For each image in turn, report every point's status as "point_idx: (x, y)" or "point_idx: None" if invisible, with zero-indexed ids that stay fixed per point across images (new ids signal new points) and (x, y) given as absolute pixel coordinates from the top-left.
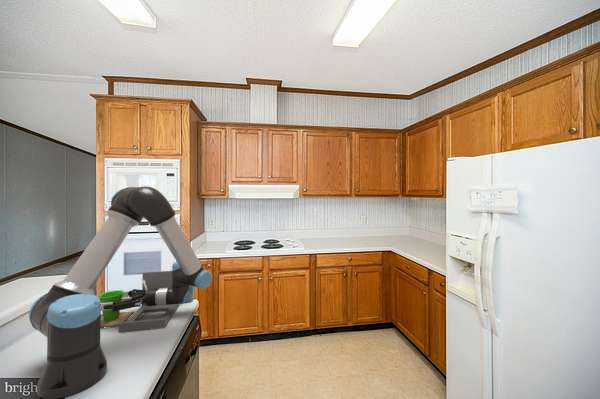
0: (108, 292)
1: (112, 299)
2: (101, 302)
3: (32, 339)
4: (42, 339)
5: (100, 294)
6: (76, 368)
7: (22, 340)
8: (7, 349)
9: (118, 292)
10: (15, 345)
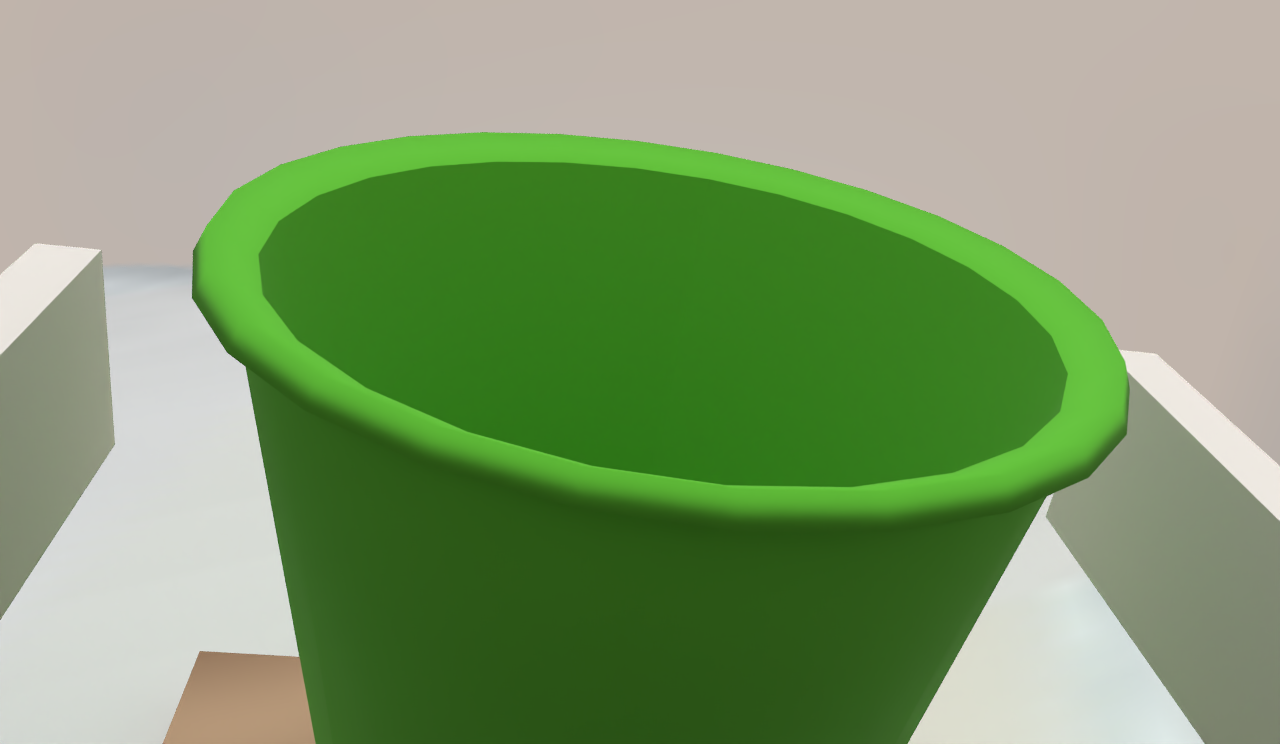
0: (882, 230)
1: (277, 445)
2: (389, 350)
3: (202, 339)
4: (134, 393)
5: (653, 148)
6: None
7: None
8: None
9: (1035, 413)
10: (111, 292)
